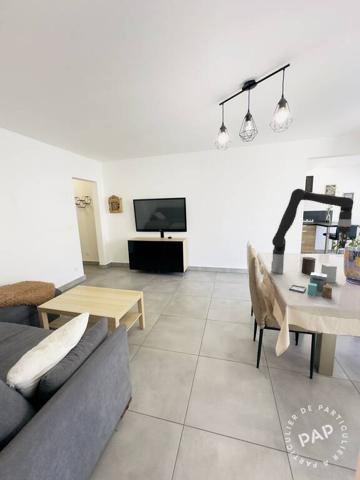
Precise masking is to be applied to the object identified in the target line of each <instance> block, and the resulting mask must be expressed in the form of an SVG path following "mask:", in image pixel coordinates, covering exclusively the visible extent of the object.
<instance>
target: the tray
mask: <svg viewBox="0 0 360 480" xmlns="http://www.w3.org/2000/svg"><path fill="white" fill-rule="evenodd" d="M288 290H289V291H293V292H298V293H302V294H304V293H305V291H306V290H307V286H302V285H297V284H291V285H290V286H289V287H288Z"/></svg>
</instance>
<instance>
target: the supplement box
mask: <svg viewBox="0 0 360 480" xmlns="http://www.w3.org/2000/svg"><path fill="white" fill-rule="evenodd" d="M337 268H338V266H336V265H334V264H332V263H321V269H320V273H321V274H327V283H336V282H337V272H338V271H337Z"/></svg>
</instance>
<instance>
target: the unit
mask: <svg viewBox="0 0 360 480" xmlns="http://www.w3.org/2000/svg"><path fill="white" fill-rule="evenodd" d="M309 283H315V284H317V292H320V293H323V286H324V285H328V282H327V274H321V272H312V273H311V275H310V279H309Z"/></svg>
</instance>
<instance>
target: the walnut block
mask: <svg viewBox="0 0 360 480" xmlns="http://www.w3.org/2000/svg"><path fill="white" fill-rule="evenodd" d="M332 293H333V286H332V285H328V284H326V285H324V286H323V292H322V298H325V299H330V300H331V299H332V296H333V294H332Z"/></svg>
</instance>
